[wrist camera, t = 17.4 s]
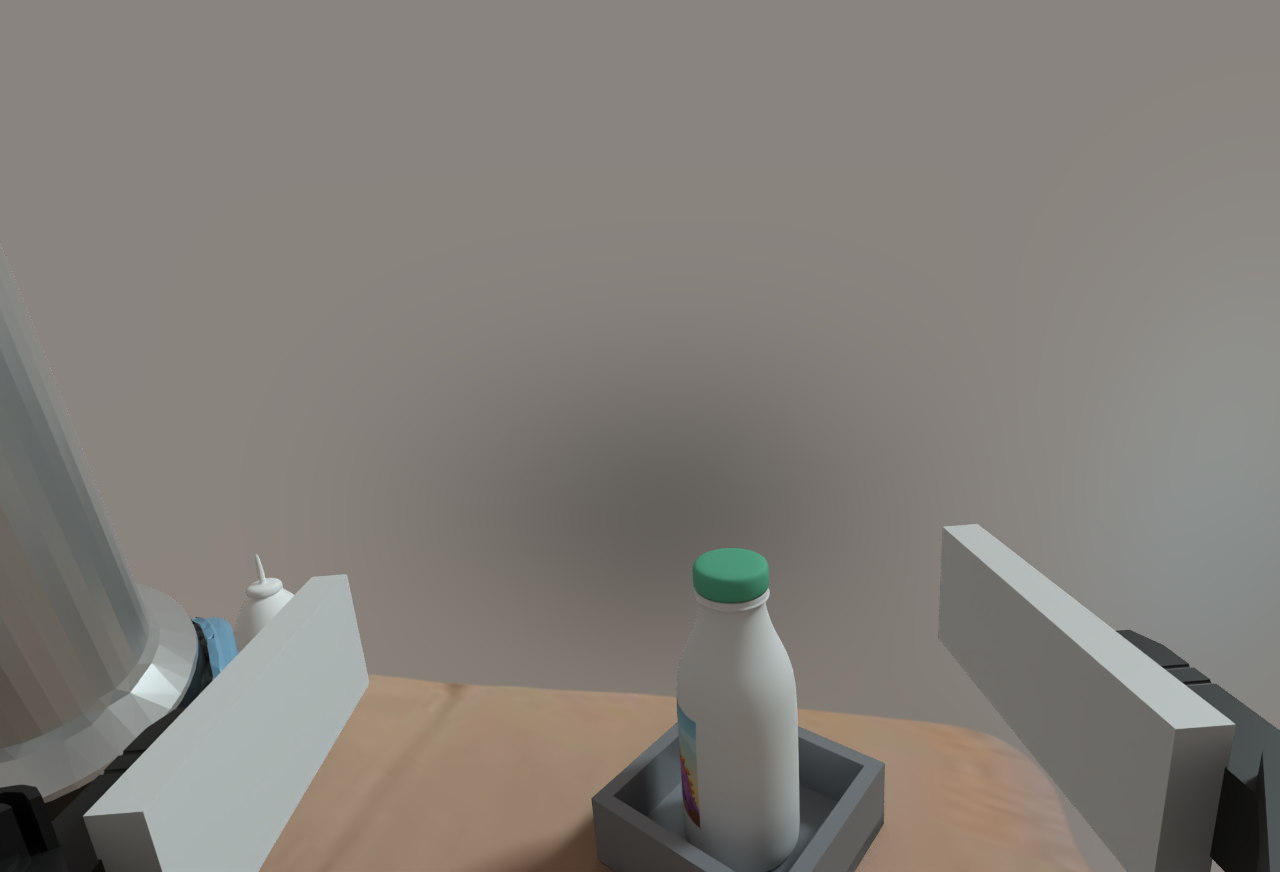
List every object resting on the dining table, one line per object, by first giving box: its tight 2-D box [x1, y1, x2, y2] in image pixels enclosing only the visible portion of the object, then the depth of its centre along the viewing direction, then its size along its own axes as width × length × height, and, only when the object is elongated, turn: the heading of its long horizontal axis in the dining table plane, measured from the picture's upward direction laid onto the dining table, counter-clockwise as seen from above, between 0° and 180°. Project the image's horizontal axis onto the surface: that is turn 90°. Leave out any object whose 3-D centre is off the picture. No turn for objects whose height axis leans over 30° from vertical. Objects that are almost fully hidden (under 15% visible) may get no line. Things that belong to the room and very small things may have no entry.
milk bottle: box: [677, 548, 800, 872], centre depth 44 cm, size 8×8×20 cm
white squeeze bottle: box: [233, 554, 294, 654], centre depth 59 cm, size 8×8×18 cm
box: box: [591, 722, 885, 872], centre depth 47 cm, size 14×14×5 cm
